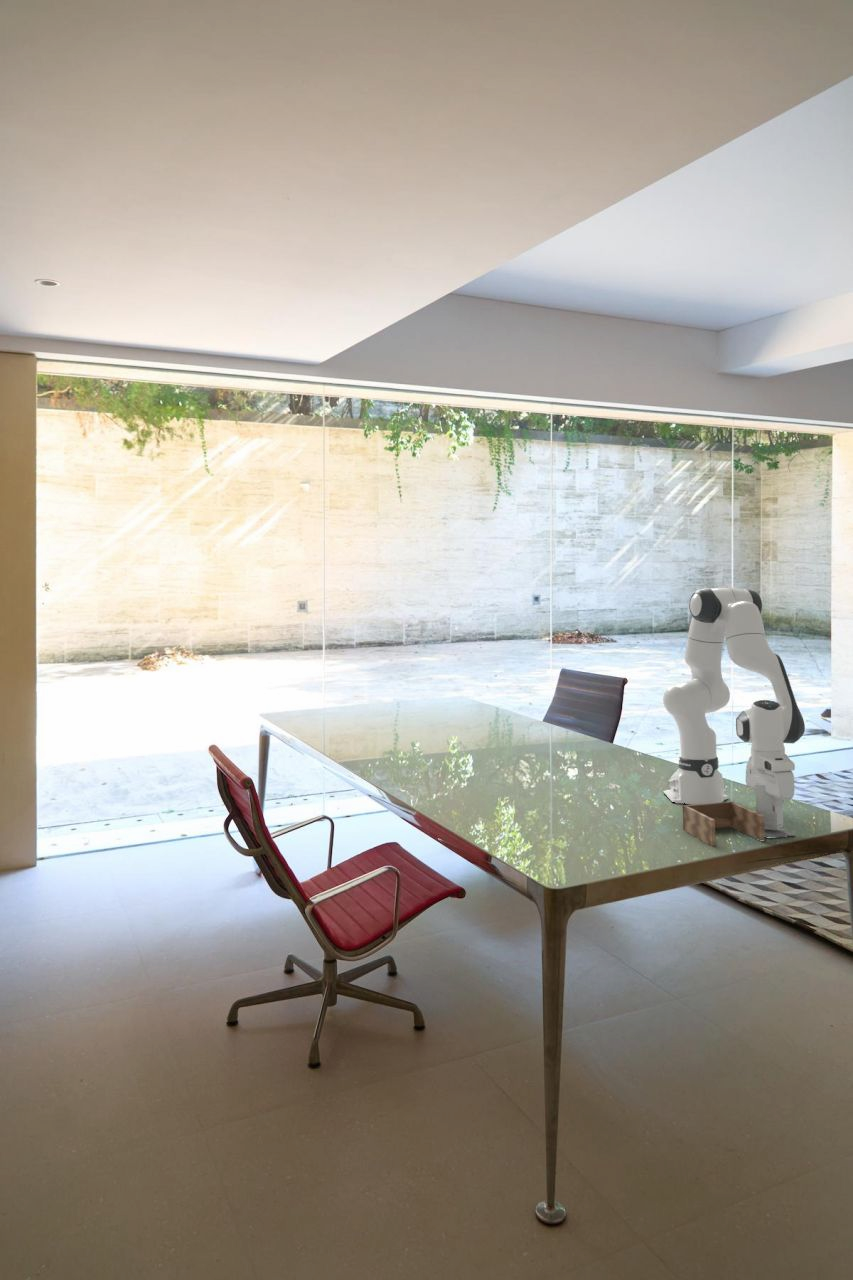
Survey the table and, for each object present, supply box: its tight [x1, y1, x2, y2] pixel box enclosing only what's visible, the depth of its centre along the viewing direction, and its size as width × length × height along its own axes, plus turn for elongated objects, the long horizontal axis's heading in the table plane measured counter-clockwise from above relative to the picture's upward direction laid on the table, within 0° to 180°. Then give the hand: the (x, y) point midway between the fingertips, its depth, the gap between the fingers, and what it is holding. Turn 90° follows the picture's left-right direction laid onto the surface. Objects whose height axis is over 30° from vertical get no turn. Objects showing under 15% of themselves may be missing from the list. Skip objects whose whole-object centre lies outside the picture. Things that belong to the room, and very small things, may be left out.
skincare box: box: [754, 783, 784, 829], centre depth 258 cm, size 6×4×12 cm
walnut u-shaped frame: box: [682, 801, 766, 847], centre depth 257 cm, size 18×15×7 cm
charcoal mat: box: [764, 827, 796, 838], centre depth 258 cm, size 12×8×1 cm, turn 9°
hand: (769, 809), depth 258 cm, fingers open, 7 cm apart
